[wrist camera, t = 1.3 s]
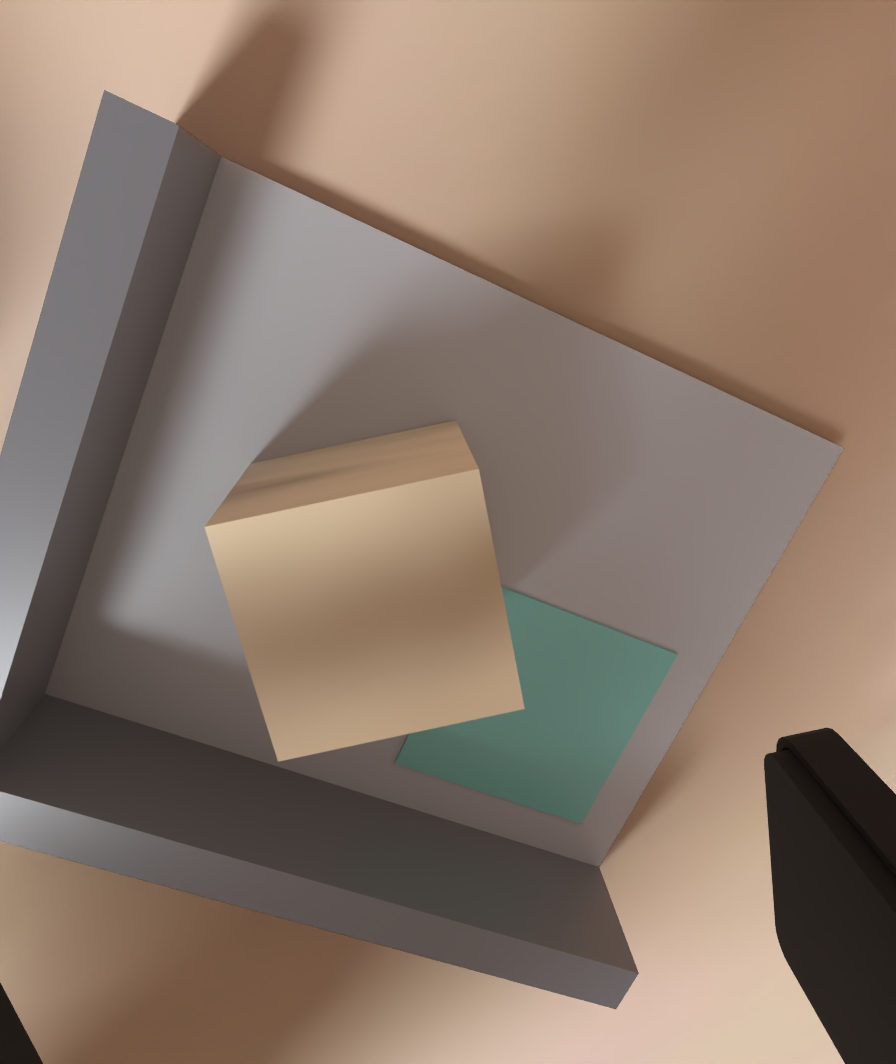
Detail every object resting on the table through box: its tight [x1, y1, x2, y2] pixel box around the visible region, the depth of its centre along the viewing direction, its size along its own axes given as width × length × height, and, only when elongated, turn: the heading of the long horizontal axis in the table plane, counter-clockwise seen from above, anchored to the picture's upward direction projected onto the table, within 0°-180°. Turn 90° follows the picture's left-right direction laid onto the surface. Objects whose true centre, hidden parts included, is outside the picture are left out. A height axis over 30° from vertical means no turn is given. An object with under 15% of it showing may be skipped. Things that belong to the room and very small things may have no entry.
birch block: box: [205, 420, 525, 762], centre depth 21 cm, size 6×6×6 cm
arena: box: [0, 90, 844, 1009], centre depth 22 cm, size 18×21×5 cm
